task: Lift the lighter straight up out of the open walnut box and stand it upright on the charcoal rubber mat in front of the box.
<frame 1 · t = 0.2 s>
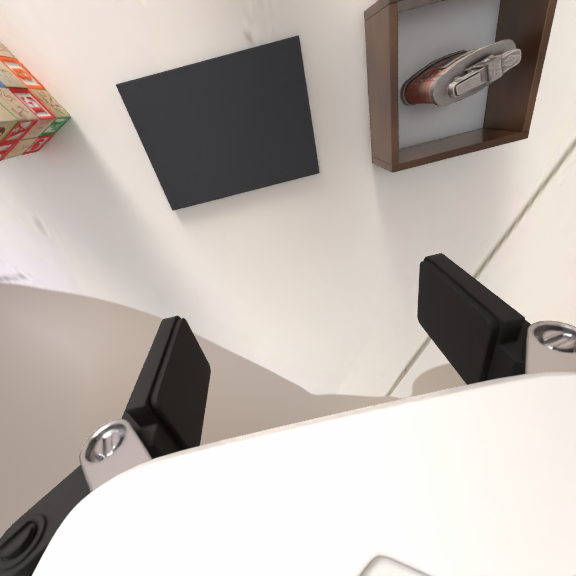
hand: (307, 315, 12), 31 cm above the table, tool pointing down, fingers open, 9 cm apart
lighter: (432, 79, 34), resting in walnut box
charcoal mat: (228, 132, 35), on the table
walnut box: (433, 79, 34), on the table
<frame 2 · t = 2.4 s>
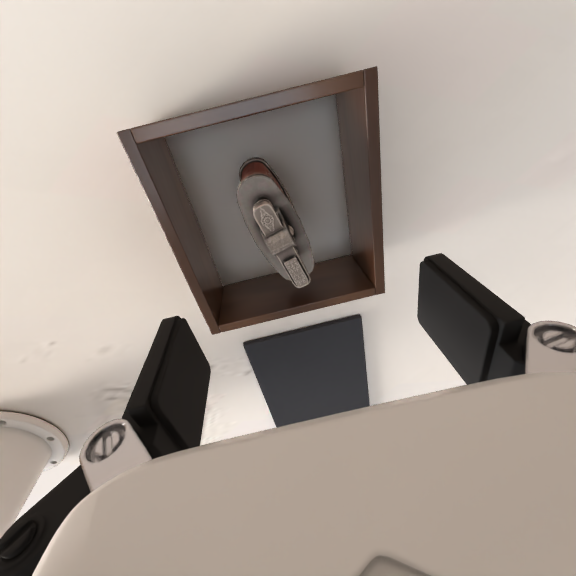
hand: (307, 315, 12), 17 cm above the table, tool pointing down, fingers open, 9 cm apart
lighter: (270, 202, 26), resting in walnut box
charcoal mat: (314, 383, 39), on the table
walnut box: (271, 203, 26), on the table
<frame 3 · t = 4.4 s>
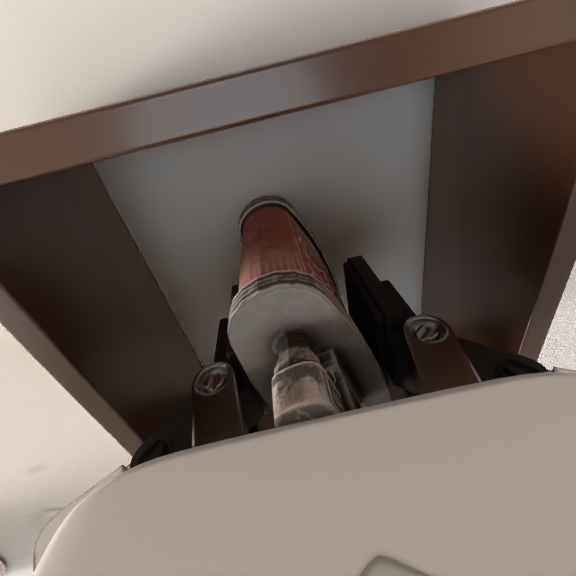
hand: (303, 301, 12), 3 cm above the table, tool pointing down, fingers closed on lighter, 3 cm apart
lighter: (294, 268, 15), resting in walnut box, touching gripper
walnut box: (294, 269, 15), on the table
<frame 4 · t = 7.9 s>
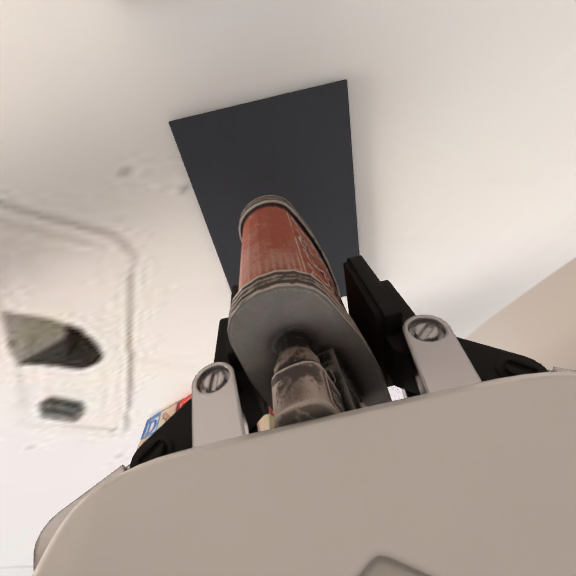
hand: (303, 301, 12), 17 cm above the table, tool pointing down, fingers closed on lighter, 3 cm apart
lighter: (294, 267, 15), point 14 cm above the table, touching gripper
stack of blocks: (218, 395, 41), on the table
charcoal mat: (283, 221, 28), on the table
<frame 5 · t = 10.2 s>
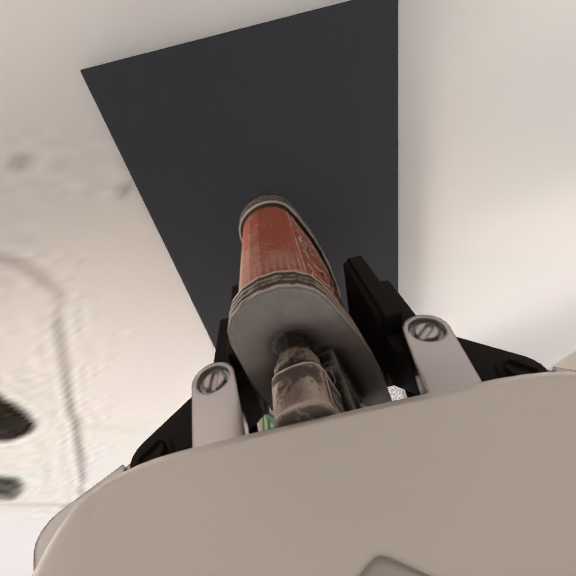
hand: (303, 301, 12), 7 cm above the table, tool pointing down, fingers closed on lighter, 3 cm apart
lighter: (294, 268, 15), point 4 cm above the table, touching gripper
charcoal mat: (285, 237, 18), on the table
when the fingers open (3 cm above the table, at t = 11.4 s): lighter stays where it is, resting on charcoal mat.
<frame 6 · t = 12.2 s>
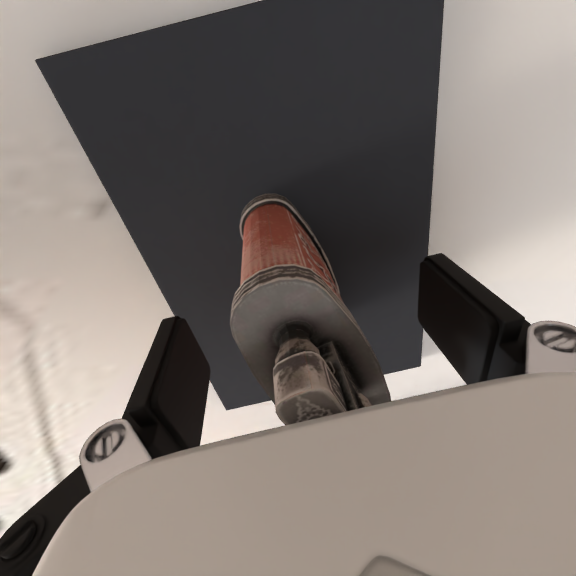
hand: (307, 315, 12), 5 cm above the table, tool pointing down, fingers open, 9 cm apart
lighter: (294, 265, 15), resting on charcoal mat
charcoal mat: (294, 261, 15), on the table
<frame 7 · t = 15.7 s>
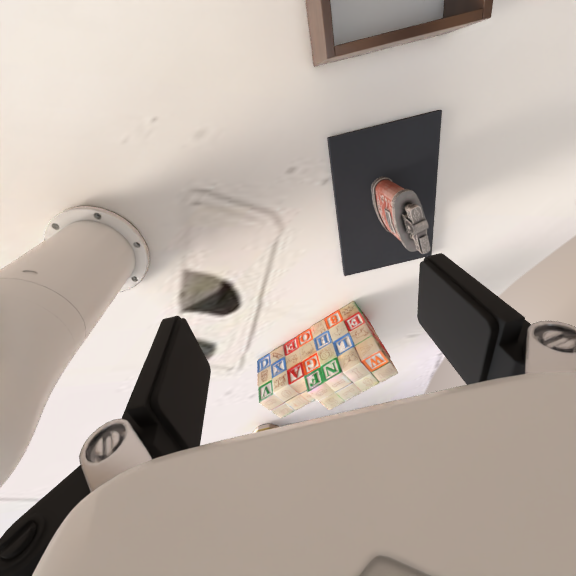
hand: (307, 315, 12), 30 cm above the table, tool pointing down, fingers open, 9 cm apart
lighter: (385, 204, 41), resting on charcoal mat
stack of blocks: (312, 340, 54), on the table
charcoal mat: (385, 203, 41), on the table
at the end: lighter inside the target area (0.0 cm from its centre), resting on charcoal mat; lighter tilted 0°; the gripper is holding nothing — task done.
